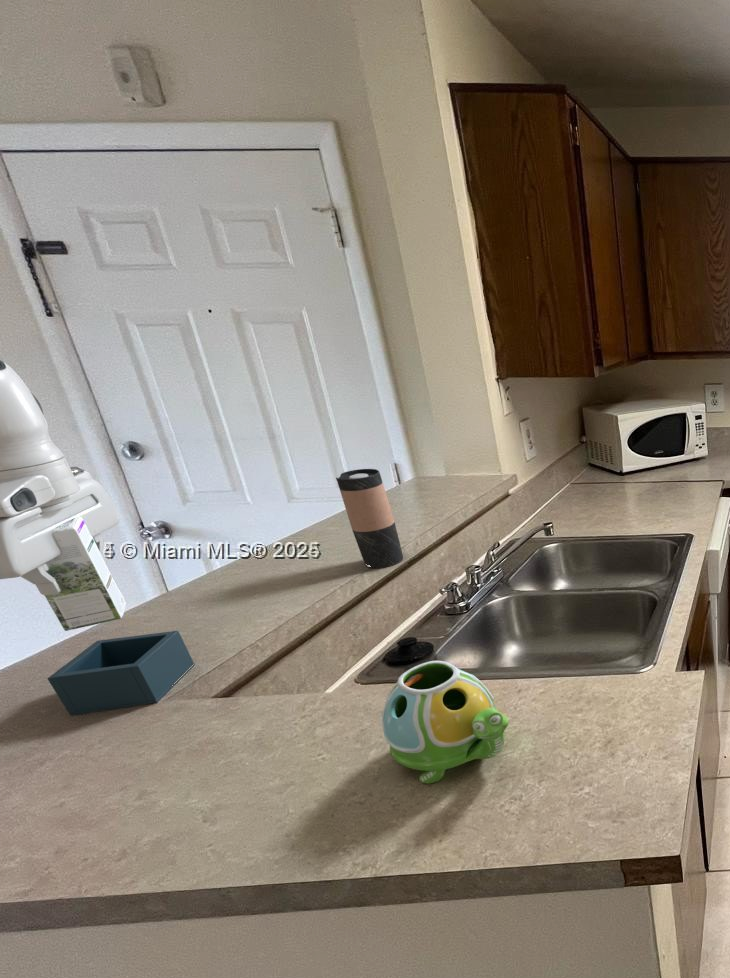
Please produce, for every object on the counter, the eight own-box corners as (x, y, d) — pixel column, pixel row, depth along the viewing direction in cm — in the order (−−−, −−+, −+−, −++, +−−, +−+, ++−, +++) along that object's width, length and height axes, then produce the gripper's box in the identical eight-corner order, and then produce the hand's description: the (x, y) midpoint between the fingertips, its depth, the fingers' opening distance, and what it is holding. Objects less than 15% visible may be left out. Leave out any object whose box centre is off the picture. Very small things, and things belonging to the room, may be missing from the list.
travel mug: (412, 559, 135) (387, 472, 126) (375, 572, 129) (347, 481, 120) (393, 551, 138) (367, 466, 130) (356, 564, 132) (327, 475, 124)
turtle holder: (468, 811, 72) (444, 732, 67) (372, 762, 79) (345, 687, 74) (549, 745, 82) (533, 672, 77) (458, 706, 89) (438, 637, 84)
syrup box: (128, 604, 91) (82, 513, 85) (122, 619, 87) (73, 525, 81) (72, 616, 88) (20, 522, 82) (63, 633, 84) (8, 536, 78)
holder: (69, 715, 87) (46, 678, 84) (116, 675, 95) (97, 640, 93) (157, 702, 90) (137, 666, 87) (195, 664, 98) (178, 630, 96)
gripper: (53, 464, 87) (99, 552, 93) (-82, 513, 69) (-16, 618, 75) (109, 461, 89) (150, 547, 95) (-9, 508, 71) (50, 611, 77)
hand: (76, 579), depth 85 cm, fingers closed on syrup box, 7 cm apart
